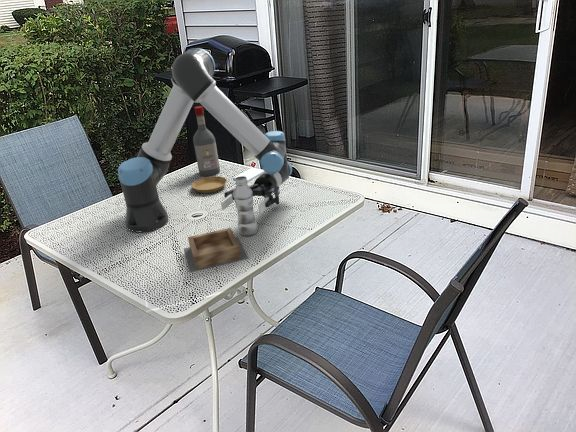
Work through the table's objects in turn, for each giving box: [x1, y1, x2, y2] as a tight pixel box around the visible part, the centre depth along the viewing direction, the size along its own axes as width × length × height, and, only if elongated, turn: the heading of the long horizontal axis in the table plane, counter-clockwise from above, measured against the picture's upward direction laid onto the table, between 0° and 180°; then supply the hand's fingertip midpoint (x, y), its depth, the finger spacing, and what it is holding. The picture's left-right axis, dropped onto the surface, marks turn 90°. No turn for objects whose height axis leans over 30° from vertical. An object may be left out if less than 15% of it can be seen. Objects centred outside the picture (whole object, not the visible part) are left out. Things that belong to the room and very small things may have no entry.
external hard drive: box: [232, 167, 265, 183], centre depth 217 cm, size 2×8×12 cm
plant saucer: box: [191, 175, 228, 194], centre depth 208 cm, size 15×15×3 cm
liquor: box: [192, 105, 221, 177], centre depth 219 cm, size 9×9×30 cm
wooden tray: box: [187, 227, 242, 269], centre depth 154 cm, size 14×14×4 cm
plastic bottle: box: [233, 176, 259, 237], centre depth 162 cm, size 6×7×20 cm
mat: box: [183, 236, 250, 273], centre depth 155 cm, size 18×16×1 cm
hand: (240, 207), depth 159 cm, fingers open, 13 cm apart
